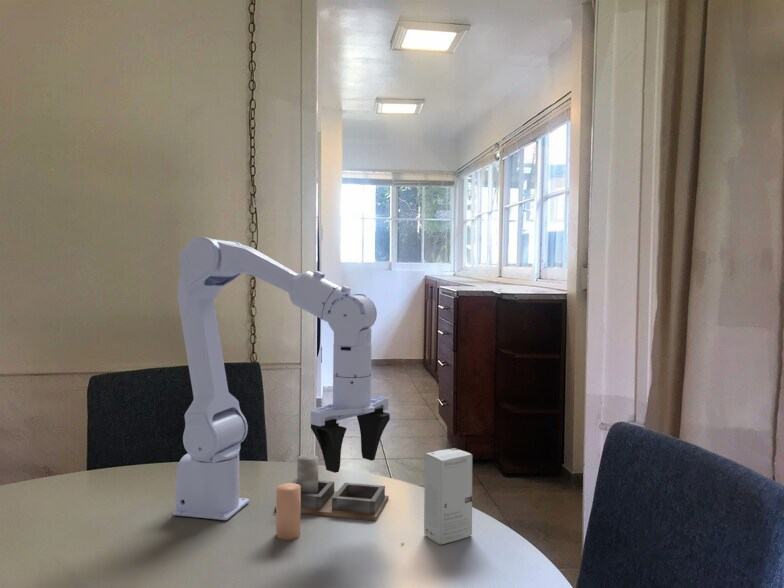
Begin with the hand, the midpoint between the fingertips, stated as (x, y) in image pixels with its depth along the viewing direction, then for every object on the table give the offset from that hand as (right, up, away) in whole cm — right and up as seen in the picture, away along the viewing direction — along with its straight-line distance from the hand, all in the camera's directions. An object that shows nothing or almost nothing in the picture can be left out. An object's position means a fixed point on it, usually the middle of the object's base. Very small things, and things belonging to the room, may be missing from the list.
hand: (351, 464), depth 84 cm
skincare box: (+14, -10, -2) cm, 18 cm away
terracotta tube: (-9, -10, -2) cm, 13 cm away
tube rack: (-4, -10, +9) cm, 14 cm away
